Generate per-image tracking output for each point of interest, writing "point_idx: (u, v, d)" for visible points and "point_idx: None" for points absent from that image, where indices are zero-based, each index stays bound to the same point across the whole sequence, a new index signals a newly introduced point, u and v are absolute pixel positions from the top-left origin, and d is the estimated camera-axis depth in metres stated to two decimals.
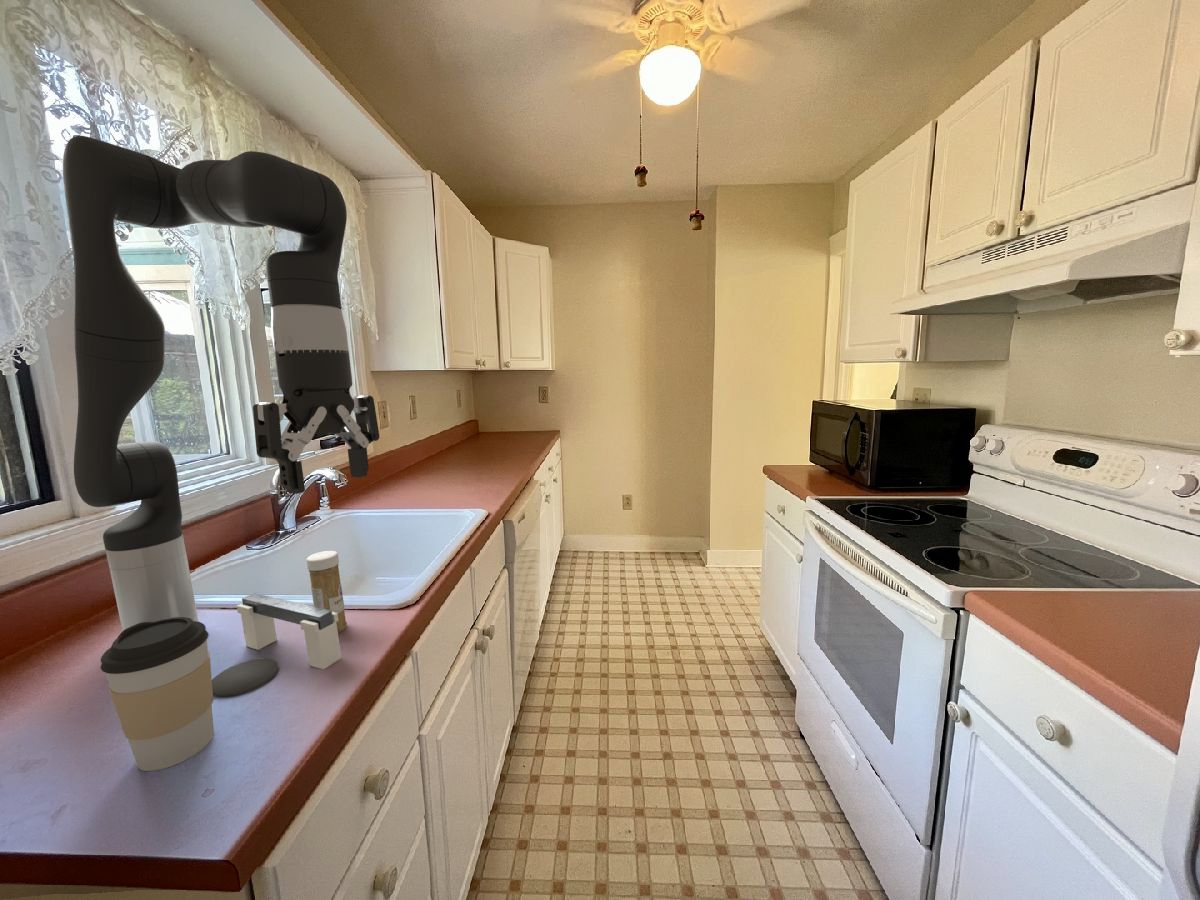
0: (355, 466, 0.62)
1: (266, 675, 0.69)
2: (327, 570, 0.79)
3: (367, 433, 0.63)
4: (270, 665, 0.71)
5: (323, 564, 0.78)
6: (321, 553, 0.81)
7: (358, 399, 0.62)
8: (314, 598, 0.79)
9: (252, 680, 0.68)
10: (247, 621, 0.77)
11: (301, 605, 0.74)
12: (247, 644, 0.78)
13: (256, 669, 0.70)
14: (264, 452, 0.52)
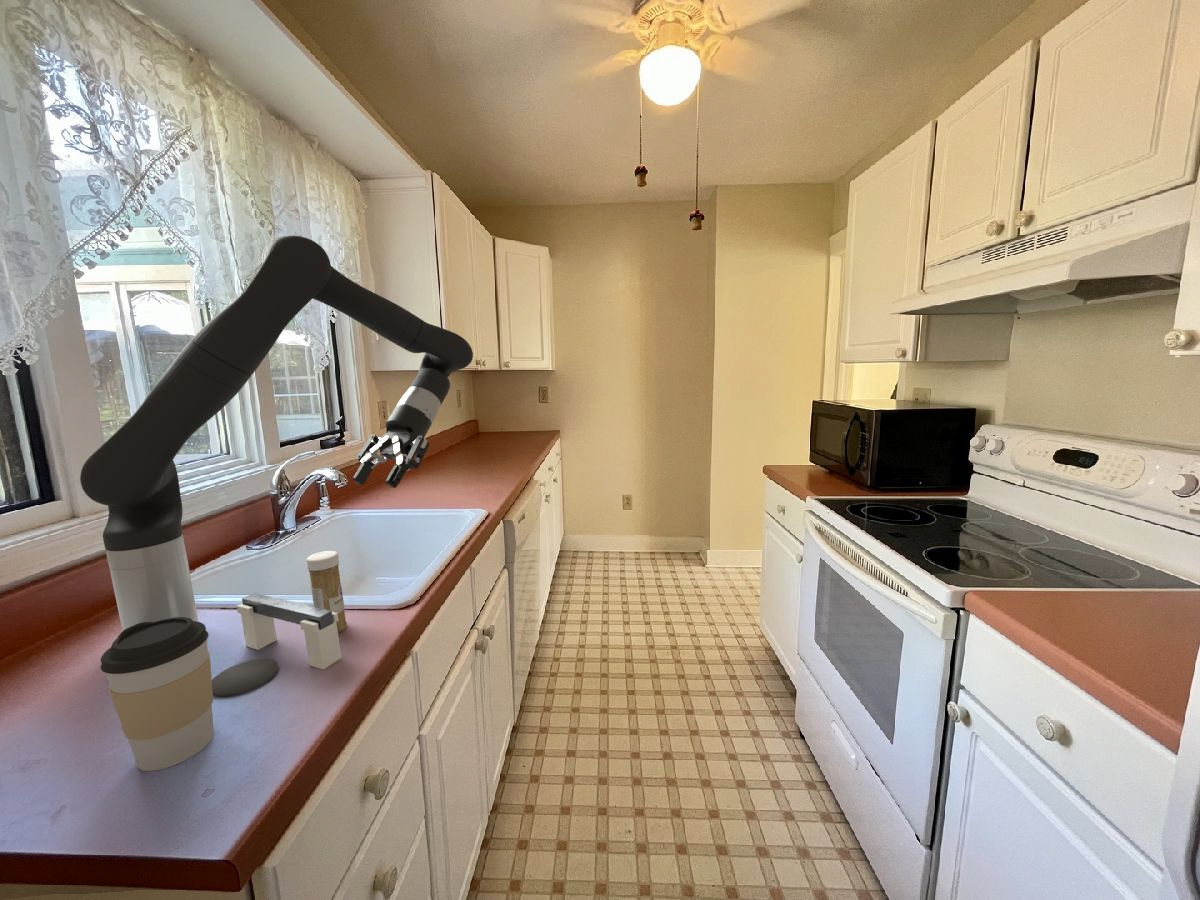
0: (362, 476, 0.90)
1: (266, 675, 0.69)
2: (327, 570, 0.79)
3: None
4: (270, 665, 0.71)
5: (323, 564, 0.78)
6: (321, 553, 0.81)
7: None
8: (314, 598, 0.79)
9: (252, 680, 0.68)
10: (247, 621, 0.77)
11: (301, 605, 0.74)
12: (247, 644, 0.78)
13: (256, 669, 0.70)
14: (414, 462, 0.88)
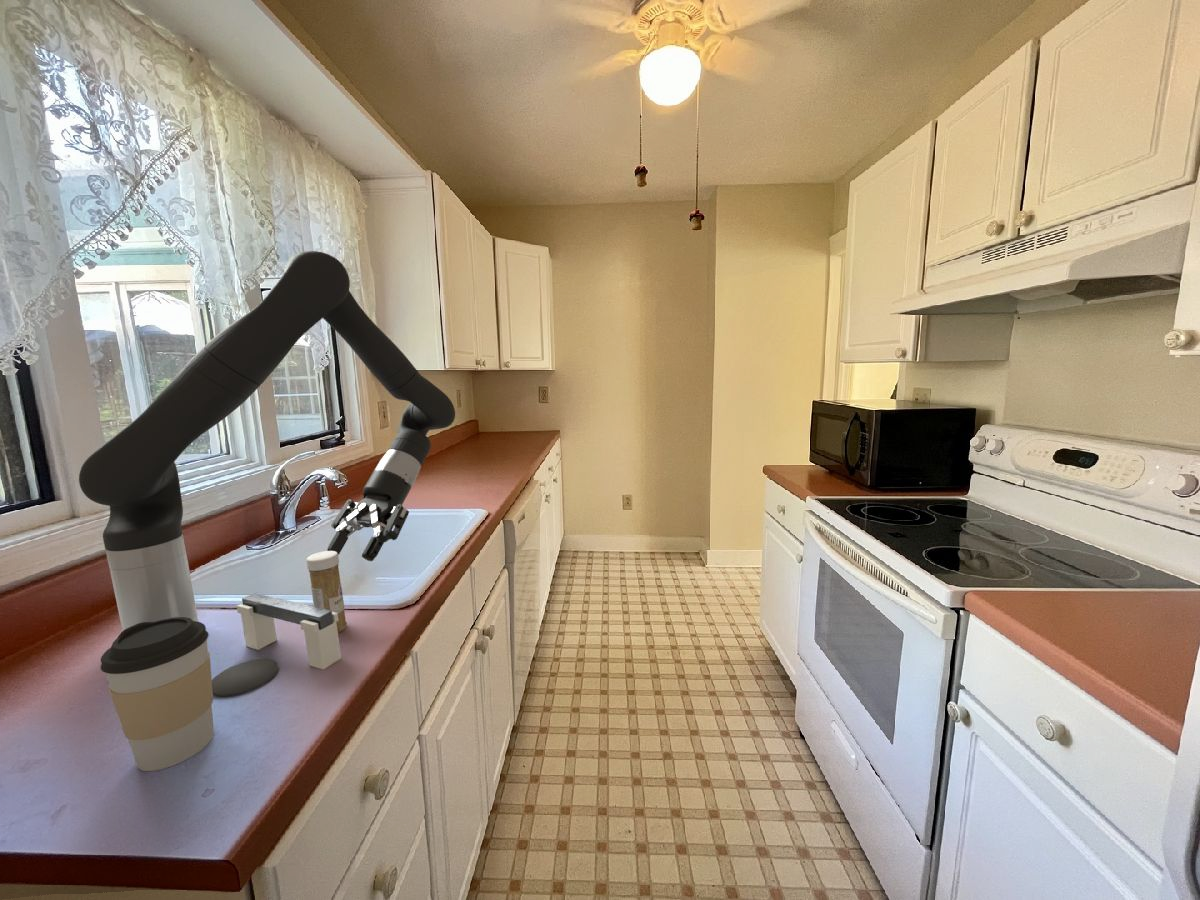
0: (337, 546, 0.87)
1: (266, 675, 0.69)
2: (327, 570, 0.79)
3: None
4: (270, 665, 0.71)
5: (323, 564, 0.78)
6: (321, 553, 0.81)
7: None
8: (314, 598, 0.79)
9: (252, 680, 0.68)
10: (247, 621, 0.77)
11: (301, 605, 0.74)
12: (247, 644, 0.78)
13: (256, 669, 0.70)
14: (393, 533, 0.85)
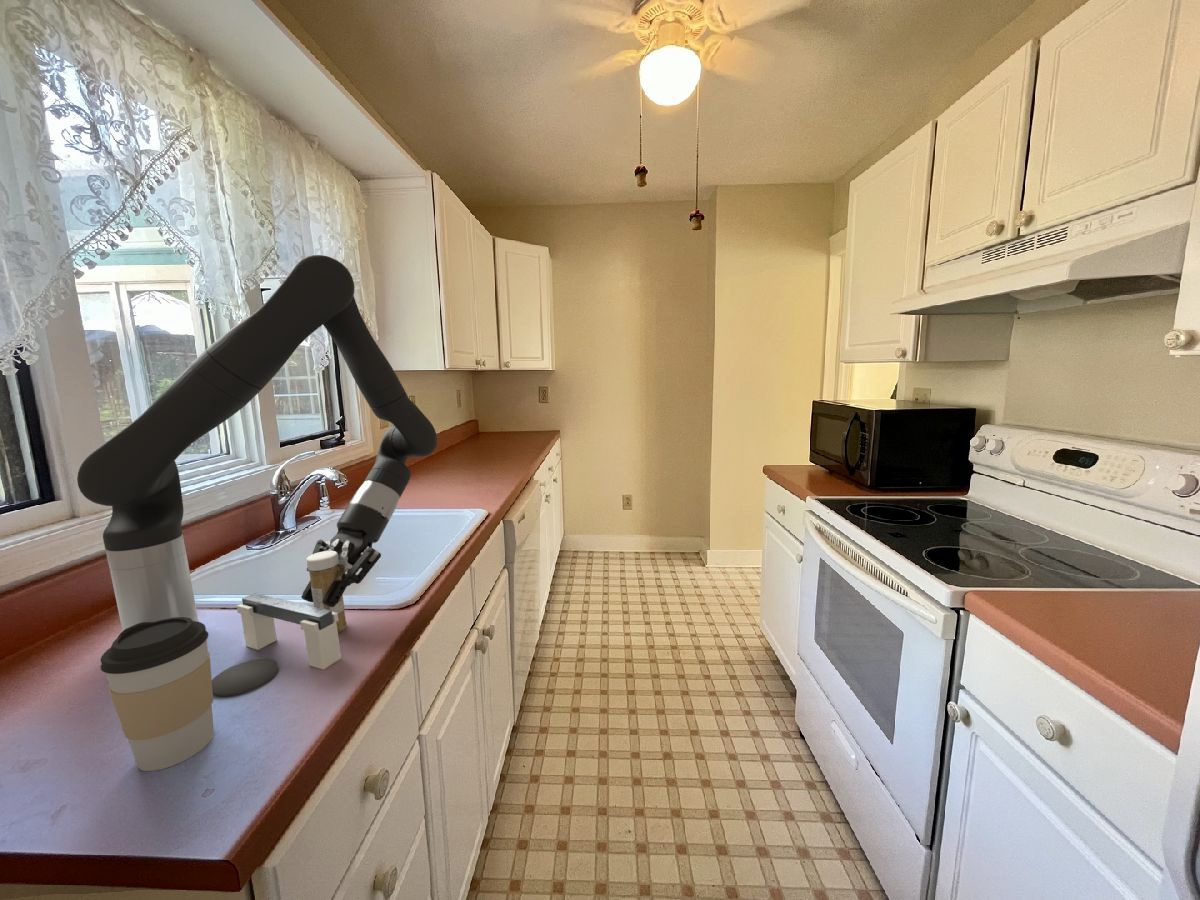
0: None
1: (266, 675, 0.69)
2: (327, 570, 0.79)
3: None
4: (270, 665, 0.71)
5: (322, 564, 0.78)
6: (321, 553, 0.81)
7: None
8: (314, 598, 0.79)
9: (252, 680, 0.68)
10: (247, 621, 0.77)
11: (301, 605, 0.74)
12: (247, 644, 0.78)
13: (256, 669, 0.70)
14: (356, 577, 0.80)
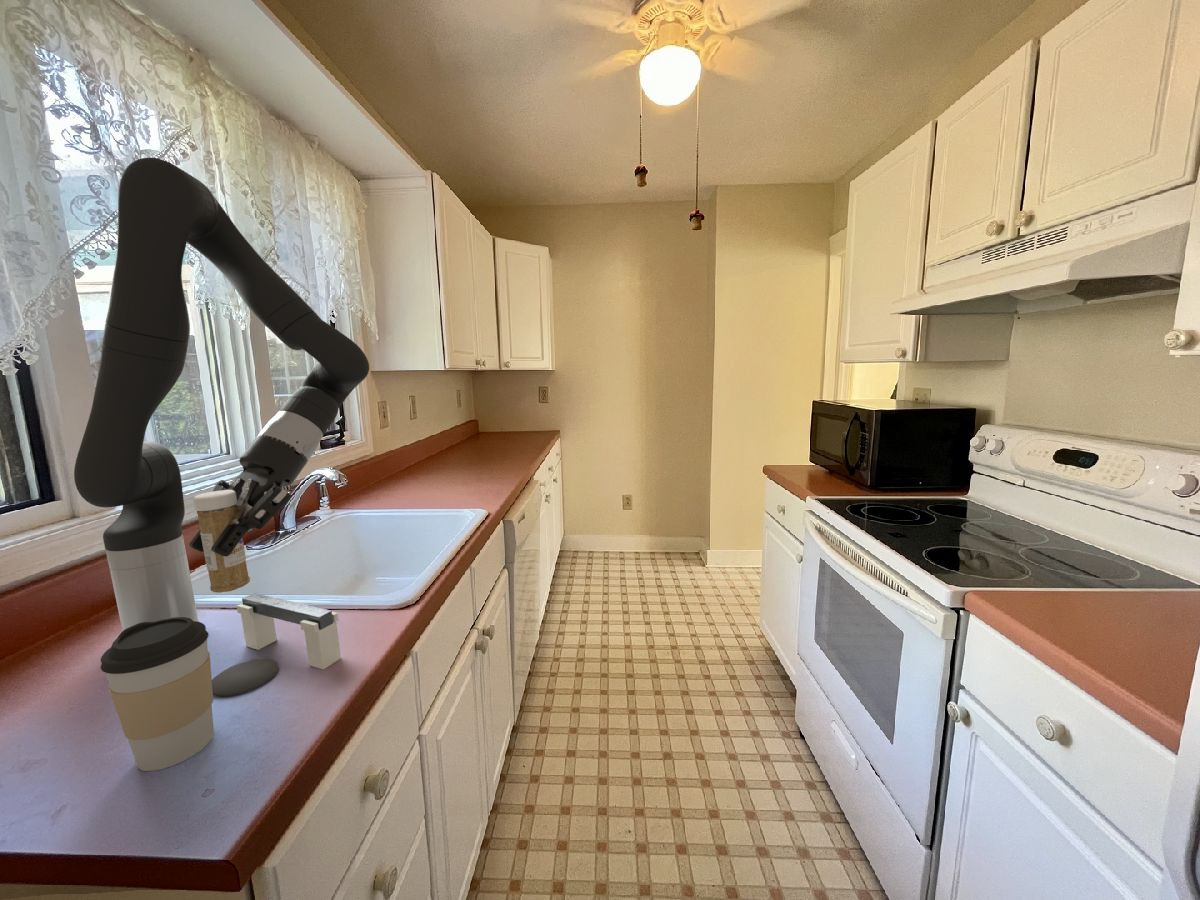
0: None
1: (266, 675, 0.69)
2: (219, 510, 0.64)
3: None
4: (270, 665, 0.71)
5: (212, 502, 0.63)
6: (214, 492, 0.66)
7: None
8: (203, 545, 0.64)
9: (252, 680, 0.68)
10: (247, 621, 0.77)
11: (301, 605, 0.74)
12: (247, 644, 0.78)
13: (256, 669, 0.70)
14: (256, 520, 0.65)
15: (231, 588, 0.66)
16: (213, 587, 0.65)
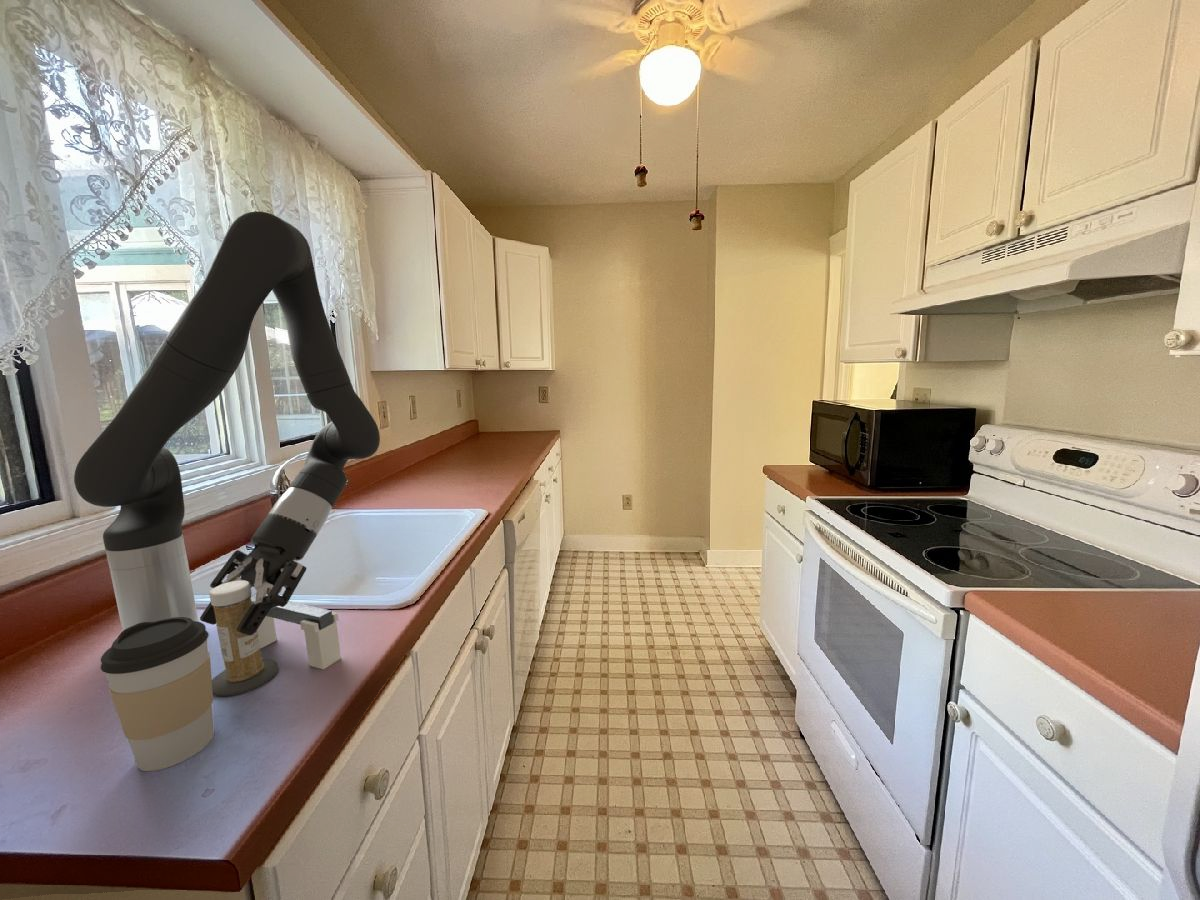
0: (214, 613, 0.69)
1: (266, 675, 0.69)
2: (234, 605, 0.66)
3: None
4: (270, 665, 0.71)
5: (228, 598, 0.65)
6: (229, 584, 0.68)
7: None
8: (220, 638, 0.66)
9: (252, 680, 0.68)
10: None
11: (301, 605, 0.74)
12: None
13: None
14: (280, 599, 0.67)
15: (246, 678, 0.68)
16: (229, 677, 0.67)
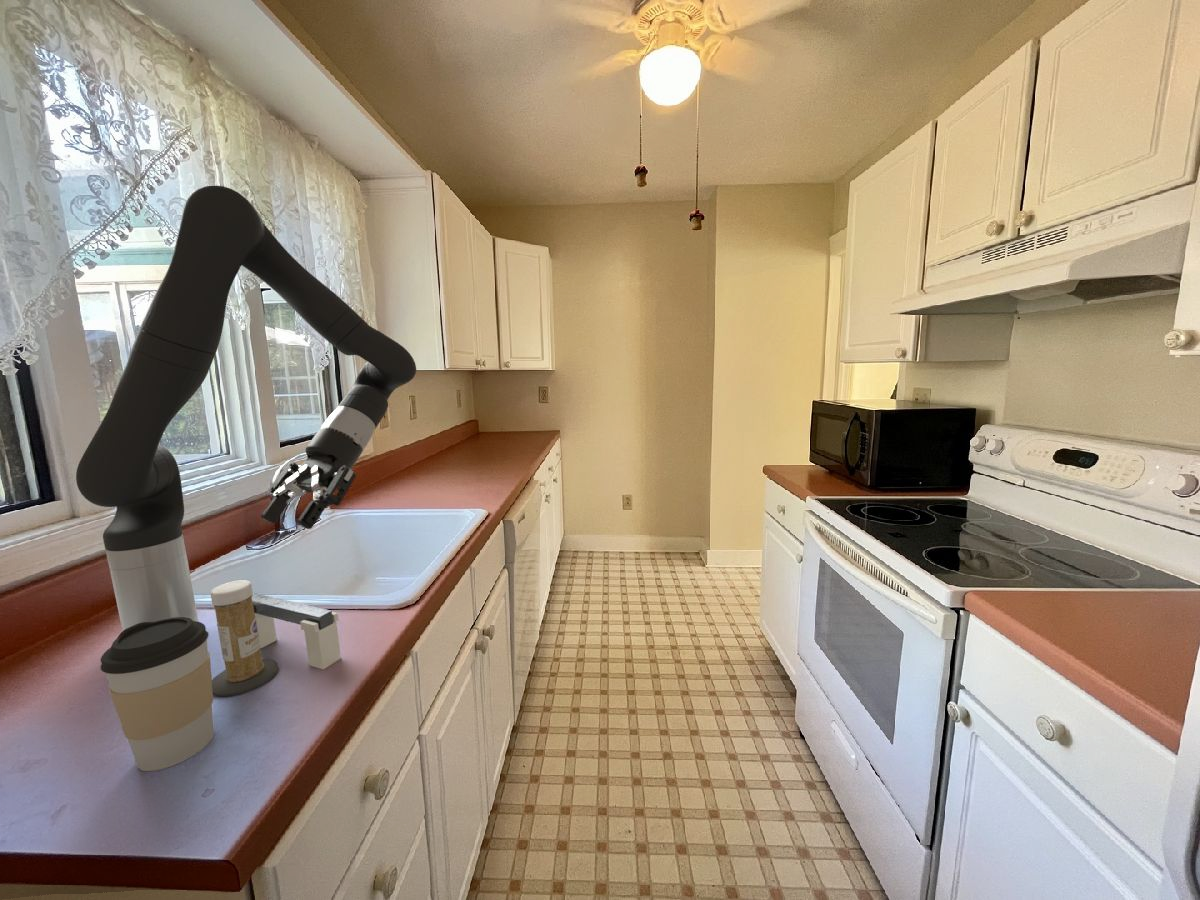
0: (273, 512, 0.76)
1: (266, 675, 0.69)
2: (235, 604, 0.66)
3: None
4: (270, 665, 0.71)
5: (229, 597, 0.65)
6: (231, 583, 0.68)
7: None
8: (220, 638, 0.67)
9: (252, 680, 0.68)
10: None
11: (301, 605, 0.74)
12: None
13: None
14: (335, 498, 0.74)
15: (246, 678, 0.68)
16: (229, 677, 0.67)
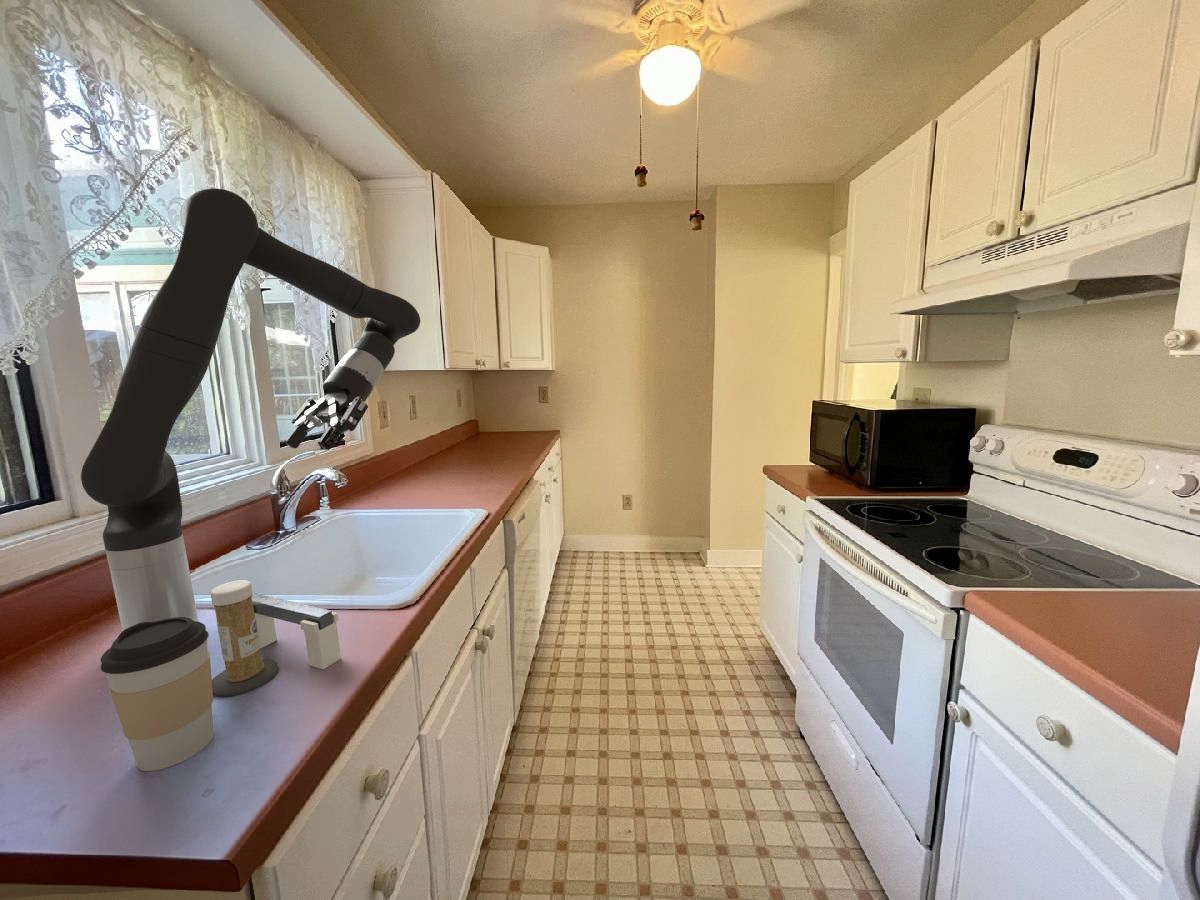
0: (295, 439, 0.86)
1: (266, 675, 0.69)
2: (235, 604, 0.66)
3: None
4: (270, 665, 0.71)
5: (229, 597, 0.65)
6: (230, 583, 0.68)
7: None
8: (220, 638, 0.67)
9: (252, 680, 0.68)
10: None
11: (301, 605, 0.74)
12: None
13: None
14: (350, 423, 0.84)
15: (246, 678, 0.68)
16: (229, 677, 0.67)
